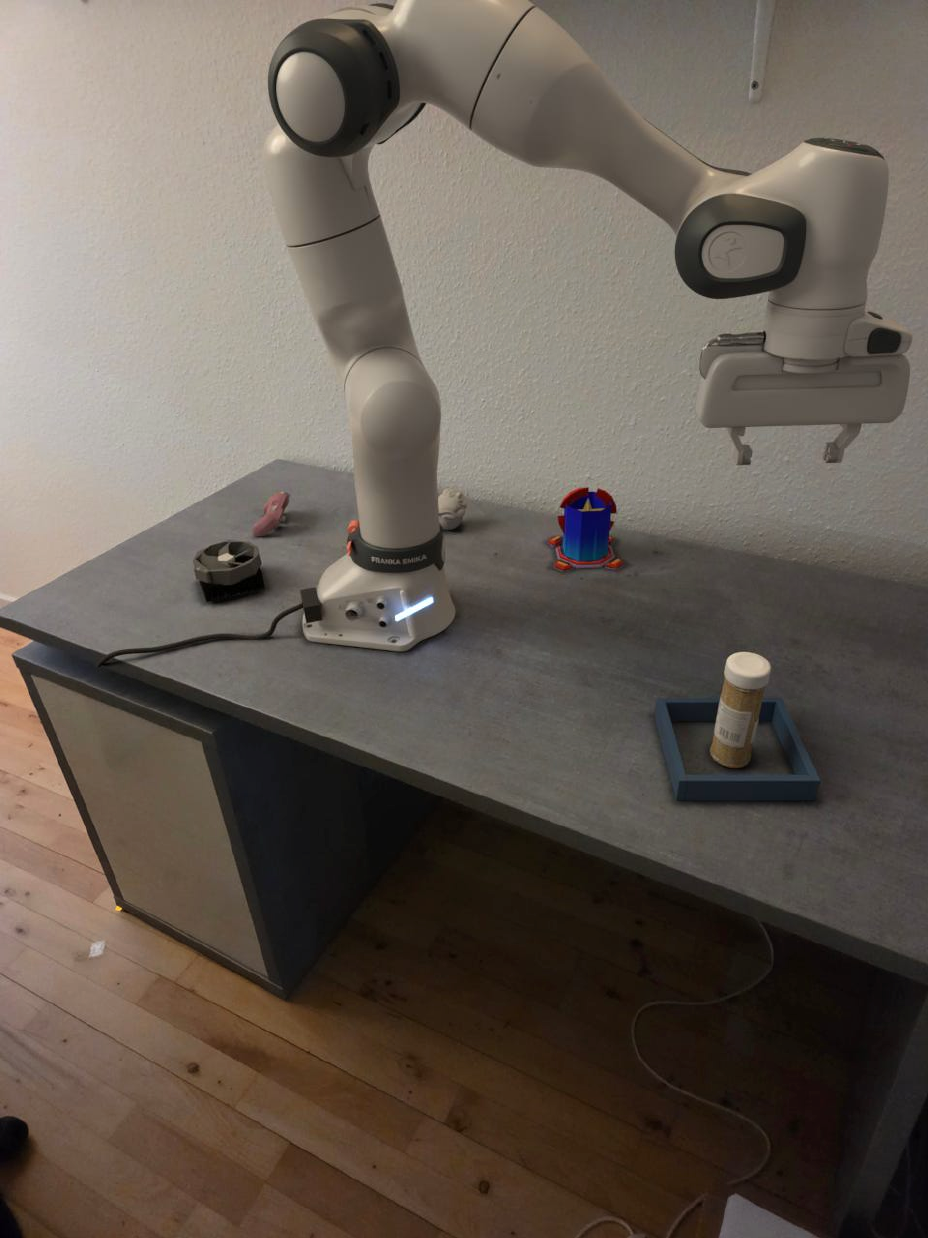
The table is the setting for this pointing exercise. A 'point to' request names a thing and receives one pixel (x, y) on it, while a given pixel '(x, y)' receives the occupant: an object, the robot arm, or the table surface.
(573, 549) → the fantasy tower
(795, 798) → the square frame
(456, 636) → the table surface
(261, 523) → the pink lumpy piece
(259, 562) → the cpu cooler
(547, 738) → the table surface
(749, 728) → the sprinkles bottle
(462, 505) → the frog figurine
